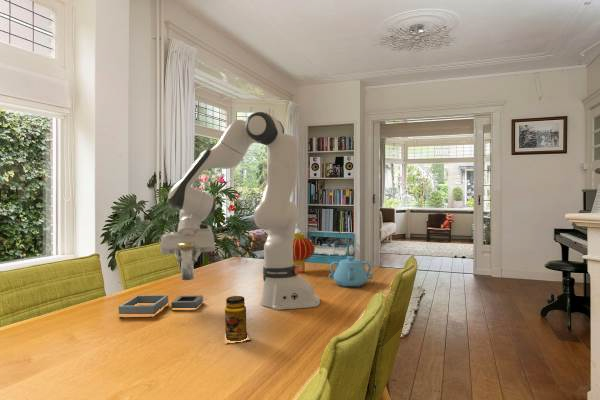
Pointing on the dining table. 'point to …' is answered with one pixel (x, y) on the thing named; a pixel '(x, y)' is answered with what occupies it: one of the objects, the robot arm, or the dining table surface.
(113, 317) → the dining table surface
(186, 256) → the glass jar
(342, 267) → the blue handled pot
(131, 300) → the tray
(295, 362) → the dining table surface
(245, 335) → the condiment
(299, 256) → the lantern
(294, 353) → the dining table surface
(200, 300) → the blue-grey square holder
